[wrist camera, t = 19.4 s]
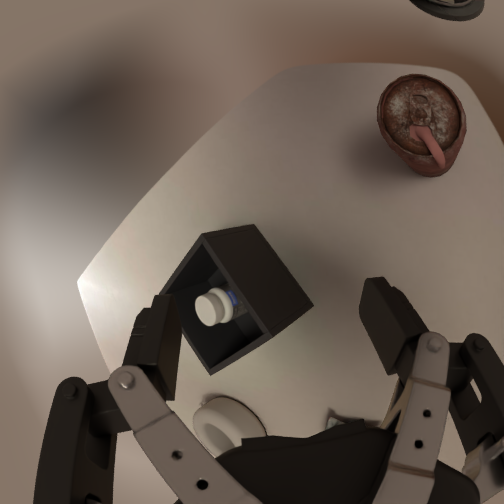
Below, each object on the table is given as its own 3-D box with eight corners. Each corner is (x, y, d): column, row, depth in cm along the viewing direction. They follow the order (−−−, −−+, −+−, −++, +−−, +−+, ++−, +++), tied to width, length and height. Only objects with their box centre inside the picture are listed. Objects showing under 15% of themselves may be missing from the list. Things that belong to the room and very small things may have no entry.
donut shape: (260, 460, 49) (241, 478, 44) (208, 422, 57) (187, 436, 52) (278, 425, 44) (255, 447, 39) (215, 381, 52) (190, 397, 47)
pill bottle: (267, 289, 39) (222, 309, 32) (256, 314, 41) (213, 336, 35) (242, 269, 41) (196, 285, 35) (233, 295, 43) (190, 313, 37)
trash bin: (206, 277, 47) (158, 293, 40) (254, 223, 39) (201, 233, 32) (253, 347, 44) (210, 375, 36) (314, 305, 36) (272, 337, 28)
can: (421, 189, 26) (410, 184, 15) (391, 137, 26) (355, 98, 15) (466, 164, 22) (488, 138, 11) (434, 111, 23) (426, 53, 12)
